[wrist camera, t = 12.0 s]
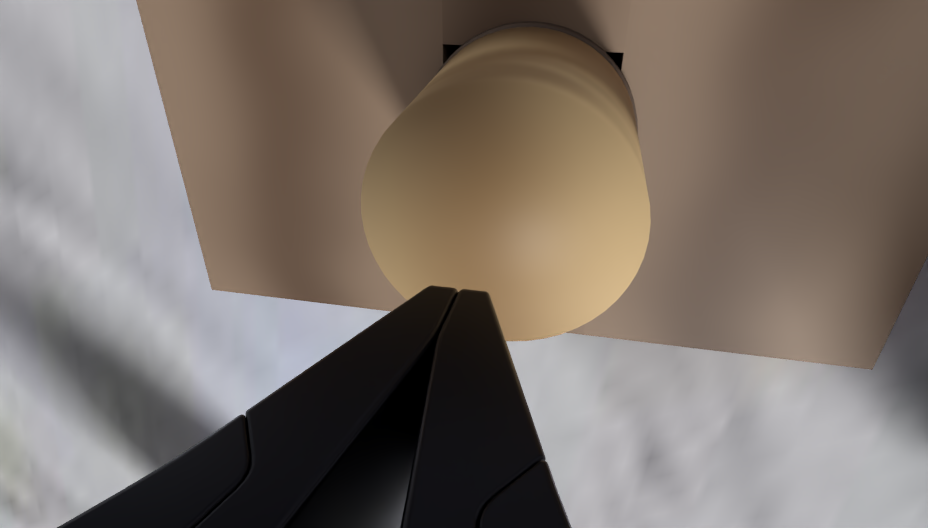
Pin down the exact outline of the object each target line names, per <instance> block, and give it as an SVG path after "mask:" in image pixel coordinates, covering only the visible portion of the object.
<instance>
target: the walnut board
mask: <svg viewBox="0 0 928 528" xmlns="http://www.w3.org/2000/svg"><path fill="white" fill-rule="evenodd" d="M136 1H137V5H138V9H139V12H140V16H141V20H142V24H143V28H144V32H145V35H146V39H147V43H148V47H149V51H150V55H151V58H152V62H153V66H154V70H155V74H156V78H157V81H158V85H159V89H160V93H161V97H162V100H163V104H164V108H165V112H166V116H167V120H168V123H169V127H170V131H171V135H172V139H173V143H174V146H175V150H176V154H177V158H178V162H179V166H180V169H181V173H182V177H183V181H184V185H185V188H186V192H187V196H188V200H189V204H190V208H191V211H192V215H193V219H194V223H195V227H196V231H197V234H198V238H199V242H200V246H201V250H202V253H203V257H204V261H205V265H206V269H207V273H208V276H209V280H210V284H211V288H212V290H219V291H228V292H236V293H244V294H252V295H261V296H269V297H277V298H285V299H294V300H302V301H310V302H318V303H327V304H335V305H343V306H351V307H360V308H368V309H376V310H384V311H393V310H394V309H396V308H397V307H399V306H400V305H401V304H403V303H404V302H406V301H407V300H406V299H405V298H404V297H403V296H402V295H401V294H400V293H399V292H398V291H397V290H396V289H395V288H394V287H393V285H392V284H391V283H390V282H389V280H388V279H387V278H386V276H385V275H384V274H383V272H382V270H381V269H380V267H379V265H378V264H377V262H376V260H375V258H374V256H373V254H372V252H371V249H370V247H369V245H368V241H367V238H366V235H365V231H364V227H363V221H362V215H361V192H362V183H363V178H364V174H365V171H366V167H367V164H368V161H369V159H370V157H371V154H372V152H373V150H374V148H375V146H376V145H377V143H378V141H379V140H380V138H381V137H382V135H383V133H384V132H385V131H386V130H387V129H388V128H389V126H390V125H391V124H392V123H393V122H394V121H395V119H396V118H397V117H398V116H399V115H400V114H401V113H402V112H403V111H404V110H405V109H406V107H407V106H408V105H409V104H410V103H411V102H412V101H413V100H414V99H415V98H416V96H417V95H418V94H419V93H420V92H421V91H422V90H423V89H424V88H425V87H426V86H427V84H428V83H429V82H430V81H431V80H432V79H433V78H434V77H435V75H436V74H437V72H438V71H439V69H440V68H441V66H442V65H443V64H444V63H445V62H446V61H447V59H448V58H449V57H450V56H451V55H452V54H453V53H454V52H455V51H456V50H457V49H458V48H459V45H463V44H464V43H465V42H467V41H468V40H470V39H471V38H473V37H474V36H476V35H478V34H480V33H482V32H484V31H486V30H488V29H491V28H494V27H497V26H500V25H503V24H509V23H514V22H527V21H536V22H545V23H552V24H556V25H560V26H563V27H566V28H569V29H571V30H574V31H576V32H578V33H580V34H582V35H584V36H585V37H587V38H589V39H590V40H592V41H593V42H595V43H596V44H597V45H598V46H600V47H601V48H602V49H603V50H604V51H605V52H619V53H618V60H617V66H618V67H619V69H620V70H621V71H622V73H623V75H624V77H625V79H626V81H627V83H628V85H629V87H630V90H631V93H632V96H633V99H634V103H635V108H636V114H637V119H638V138H639V144H640V150H641V156H642V162H643V167H644V173H645V179H646V185H647V191H648V196H649V202H650V219H651V225H650V233H649V241H648V245H647V248H646V252H645V256H644V259H643V261H642V263H641V265H640V268H639V270H638V272H637V274H636V276H635V277H634V279H633V280H632V282H631V284H630V285H629V287H628V288H627V289H626V290H625V292H624V293H623V294H622V295H621V296H620V297H619V299H618V300H617V301H616V302H615V303H613V304H612V305H611V306H610V307H609V308H608V309H607V310H606V311H604V312H603V313H602V314H600V315H599V316H597V317H596V318H594V319H593V320H591V321H590V322H588V323H586V324H584V325H582V326H580V327H578V328H576V329H573V330H571V331H568V332H566V333H574V334H582V335H591V336H599V337H607V338H615V339H624V340H632V341H640V342H648V343H657V344H665V345H673V346H681V347H690V348H698V349H706V350H714V351H723V352H731V353H739V354H747V355H756V356H764V357H772V358H780V359H789V360H797V361H805V362H813V363H822V364H830V365H838V366H846V367H855V368H863V369H871V370H872V369H873V367H874V365H875V363H876V361H877V359H878V357H879V355H880V353H881V351H882V349H883V347H884V344H885V342H886V340H887V338H888V336H889V334H890V332H891V330H892V328H893V326H894V324H895V322H896V320H897V318H898V316H899V314H900V312H901V310H902V307H903V305H904V303H905V301H906V299H907V297H908V295H909V293H910V291H911V289H912V287H913V285H914V283H915V281H916V279H917V277H918V275H919V272H920V270H921V268H922V266H923V264H924V262H925V260H926V258H927V256H928V0H136Z"/></svg>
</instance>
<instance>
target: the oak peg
mask: <svg viewBox="0 0 928 528" xmlns="http://www.w3.org/2000/svg"><path fill="white" fill-rule="evenodd" d="M361 215H362V221H363V227H364V231H365V235H366V238H367V241H368V245H369V247H370V249H371V252H372V254H373V256H374V258H375V260H376V262H377V264H378V265H379V267H380V269H381V270H382V272H383V274H384V275H385V276H386V278H387V279H388V280H389V282H390V283H391V284H392V285H393V287H394V288H395V289H396V290H397V291H398V292H399V293H400V294H401V295H402V296H403V297H404V298H405V299H406V300H409V299H410V298H412V297H413V296H415V295H416V294H417V293H419V292H420V291H422V290H423V289H425V288H426V287H428V286H431V285H433V286H442V287H451V288H456V289H457V290H458V292H459V291H460V290H462V289H470V290H479V291H486V292H488V293H489V295H490V297H491V300H492V303H493V305H494V308H495V311H496V314H497V317H498V320H499V323H500V326H501V329H502V332H503V335H504V338H505V341H529V340H536V339H544V338H548V337H552V336H556V335H560V334H563V333H565V332H568V331H571V330H573V329H576V328H578V327H580V326H582V325H584V324H586V323H588V322H590V321H591V320H593V319H594V318H596V317H597V316H599V315H600V314H602V313H603V312H604V311H606V310H607V309H608V308H609V307H610V306H611V305H612V304H613V303H615V302H616V301H617V300H618V299H619V297H620V296H621V295H622V294H623V293H624V292H625V290H626V289H627V288H628V287H629V285H630V284H631V282H632V280H633V279H634V277H635V276H636V274H637V272H638V270H639V268H640V265H641V263H642V261H643V259H644V256H645V252H646V248H647V245H648V241H649V233H650V225H651V219H650V202H649V196H648V191H647V185H646V179H645V173H644V167H643V162H642V156H641V150H640V144H639V138H638V119H637V114H636V108H635V103H634V99H633V96H632V93H631V90H630V87H629V85H628V83H627V81H626V79H625V77H624V75H623V73H622V71H621V70H620V69H619V67H618V66H617V64H616V63H615V61H614V60H613V59H612V58H611V57H610V56H609V55H608V54H607V53H606V52H605V51H604V50H603V49H602V48H601V47H600V46H598V45H597V44H596V43H595V42H593V41H592V40H590V39H589V38H587V37H585V36H584V35H582V34H580V33H578V32H576V31H574V30H571V29H569V28H566V27H563V26H560V25H556V24H552V23H545V22H536V21H527V22H514V23H509V24H503V25H500V26H497V27H494V28H491V29H488V30H486V31H484V32H482V33H480V34H478V35H476V36H474V37H473V38H471V39H470V40H468V41H467V42H465V43H464V44H463V45H462V46H461V47H459V48H458V49H457V50H456V51H455V52H454V53H453V54H452V55H451V56H450V57H449V58H448V59H447V61H446V62H445V63H444V64H443V65H442V66H441V68H440V69H439V71H438V72H437V74H436V75H435V77H434V78H433V79H432V80H431V81H430V82H429V83H428V84H427V86H426V87H425V88H424V89H423V90H422V91H421V92H420V93H419V94H418V95H417V96H416V98H415V99H414V100H413V101H412V102H411V103H410V104H409V105H408V106H407V107H406V109H405V110H404V111H403V112H402V113H401V114H400V115H399V116H398V117H397V118H396V119H395V121H394V122H393V123H392V124H391V125H390V126H389V128H388V129H387V130H386V131H385V132H384V133H383V135H382V137H381V138H380V140H379V141H378V143H377V145H376V146H375V148H374V150H373V152H372V154H371V157H370V159H369V161H368V164H367V167H366V171H365V174H364V178H363V183H362V192H361Z"/></svg>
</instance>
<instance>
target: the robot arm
mask: <svg viewBox="0 0 928 528" xmlns="http://www.w3.org/2000/svg"><path fill="white" fill-rule="evenodd" d="M57 528H571V525H570V523H569V520H568V517H567V515H566V512H565V510H564V507H563V504H562V502H561V499H560V497H559V494H558V492H557V489H556V486H555V483H554V480H553V477H552V474H551V471H550V469H549V466H548V463H547V462H546V461H545V455H544V452H543V449H542V446H541V443H540V440H539V437H538V434H537V432H536V429H535V426H534V423H533V420H532V417H531V414H530V411H529V408H528V405H527V402H526V399H525V396H524V393H523V390H522V388H521V385H520V382H519V379H518V376H517V373H516V370H515V367H514V364H513V361H512V358H511V355H510V352H509V349H508V347H507V344H506V341H505V338H504V335H503V332H502V329H501V326H500V323H499V320H498V317H497V314H496V311H495V308H494V305H493V303H492V300H491V297H490V295H489V293H488V292H486V291H479V290H470V289H462V290H460V291H459V292H458V290H457V289H456V288H451V287H442V286H433V285H431V286H428V287H426V288H425V289H423V290H422V291H420V292H419V293H417V294H416V295H415V296H413V297H412V298H410V299H409V300H407V301H406V302H404V303H403V304H401V305H400V306H399V307H397V308H396V309H394V310H393V311H391V312H390V313H388V314H387V315H385V316H384V317H382V318H381V319H380V320H378V321H377V322H375V323H374V324H372V325H371V326H369V327H368V328H366V329H365V330H364V331H362V332H361V333H359V334H358V335H356V336H355V337H353V338H352V339H350V340H349V341H348V342H346V343H345V344H343V345H342V346H340V347H339V348H337V349H336V350H334V351H333V352H332V353H330V354H329V355H327V356H326V357H324V358H323V359H321V360H320V361H318V362H317V363H315V364H314V365H313V366H311V367H310V368H308V369H307V370H305V371H304V372H302V373H301V374H299V375H298V376H297V377H295V378H294V379H292V380H291V381H289V382H288V383H286V384H285V385H283V386H282V387H281V388H279V389H278V390H276V391H275V392H273V393H272V394H270V395H269V396H267V397H266V398H265V399H263V400H262V401H260V402H259V403H257V404H256V405H254V406H253V407H251V408H250V409H248V410H247V411H246V417H245V416H244V415H239V416H238V417H236V418H235V419H234V420H232V421H231V422H229V423H228V424H226V425H225V426H223V427H222V428H220V429H219V430H217V431H216V432H215V433H213V434H212V435H210V436H208V437H207V438H205V439H204V440H202V441H201V442H199V443H198V444H196V445H195V446H193V447H192V448H190V449H189V450H187V451H186V452H184V453H182V454H181V455H179V456H178V457H176V458H175V459H173V460H172V461H170V462H168V463H167V464H165V465H163V466H162V467H160V468H158V469H157V470H155V471H153V472H152V473H150V474H148V475H147V476H145V477H143V478H142V479H140V480H138V481H137V482H135V483H133V484H132V485H130V486H128V487H127V488H125V489H123V490H122V491H120V492H118V493H116V494H115V495H113V496H111V497H109V498H108V499H106V500H104V501H103V502H101V503H99V504H97V505H96V506H94V507H92V508H90V509H89V510H87V511H85V512H83V513H82V514H80V515H78V516H76V517H75V518H73V519H71V520H69V521H68V522H66V523H64V524H63V525H61V526H59V527H57Z"/></svg>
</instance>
